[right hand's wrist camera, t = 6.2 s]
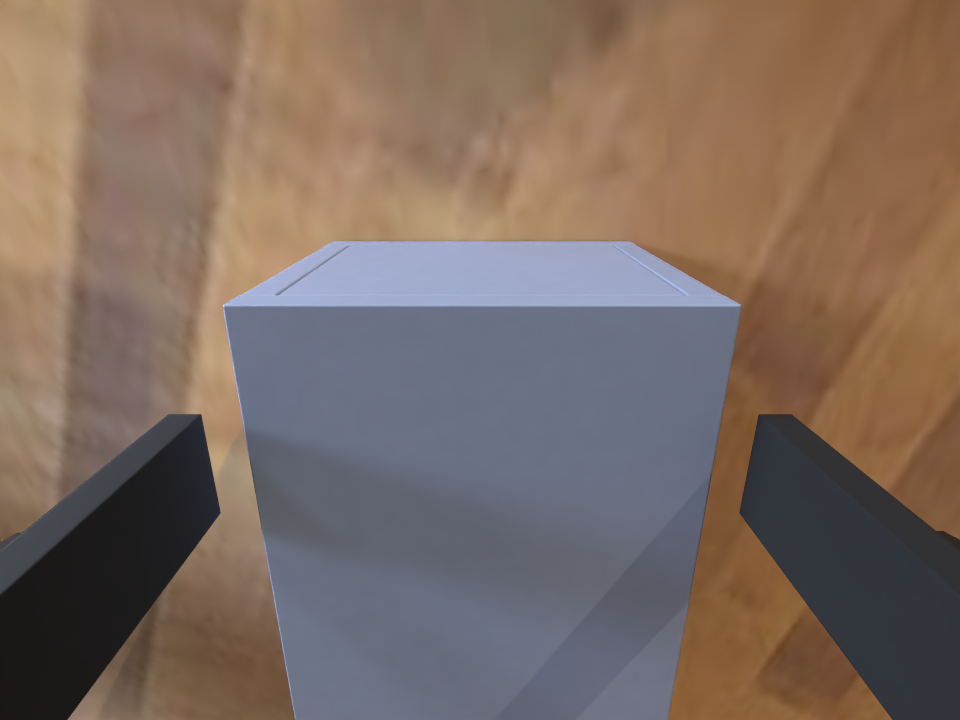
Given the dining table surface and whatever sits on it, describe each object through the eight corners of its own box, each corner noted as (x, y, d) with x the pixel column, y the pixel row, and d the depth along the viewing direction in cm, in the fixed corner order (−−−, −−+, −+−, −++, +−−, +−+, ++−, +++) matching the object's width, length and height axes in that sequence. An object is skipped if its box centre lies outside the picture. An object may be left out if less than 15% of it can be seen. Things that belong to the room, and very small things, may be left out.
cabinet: (592, 633, 27) (644, 854, 18) (369, 632, 27) (318, 854, 18) (631, 241, 20) (742, 304, 11) (331, 241, 20) (221, 304, 11)
